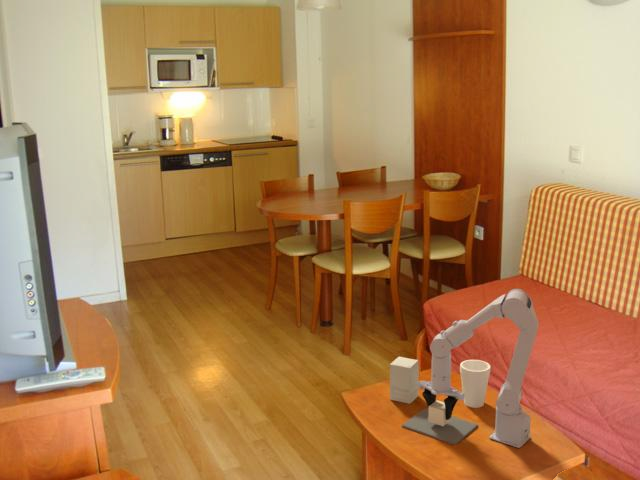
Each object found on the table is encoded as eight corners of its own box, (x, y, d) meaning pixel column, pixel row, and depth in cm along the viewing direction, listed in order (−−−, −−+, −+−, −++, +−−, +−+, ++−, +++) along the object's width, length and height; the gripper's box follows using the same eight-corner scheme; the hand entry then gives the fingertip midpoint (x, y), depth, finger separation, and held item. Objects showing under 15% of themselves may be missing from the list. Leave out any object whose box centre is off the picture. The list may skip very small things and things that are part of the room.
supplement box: (419, 395, 242) (419, 359, 239) (409, 404, 235) (410, 368, 232) (398, 391, 245) (398, 355, 242) (389, 399, 239) (389, 363, 236)
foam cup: (452, 401, 237) (454, 364, 234) (473, 394, 242) (474, 357, 239) (474, 412, 229) (475, 374, 226) (495, 404, 234) (496, 367, 231)
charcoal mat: (477, 426, 221) (477, 424, 221) (455, 445, 210) (455, 443, 210) (425, 409, 232) (425, 407, 232) (401, 426, 221) (401, 424, 221)
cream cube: (451, 419, 221) (451, 404, 220) (443, 426, 217) (443, 410, 216) (436, 415, 224) (436, 400, 223) (428, 421, 220) (428, 406, 219)
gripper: (412, 372, 218) (412, 414, 222) (456, 384, 210) (455, 428, 213) (425, 364, 224) (424, 405, 227) (468, 376, 215) (466, 418, 218)
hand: (440, 415), depth 220 cm, fingers closed on cream cube, 5 cm apart
